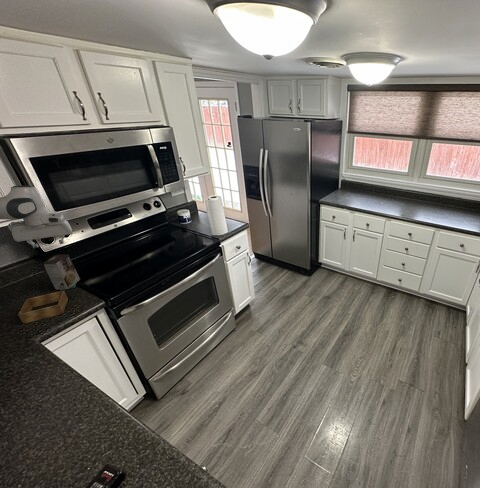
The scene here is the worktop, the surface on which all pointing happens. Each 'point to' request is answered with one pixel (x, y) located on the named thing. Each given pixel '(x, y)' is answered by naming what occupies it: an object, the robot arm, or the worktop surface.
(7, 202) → the robot arm
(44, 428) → the worktop surface
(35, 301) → the holder
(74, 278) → the coffee box
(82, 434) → the worktop surface
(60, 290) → the mat
